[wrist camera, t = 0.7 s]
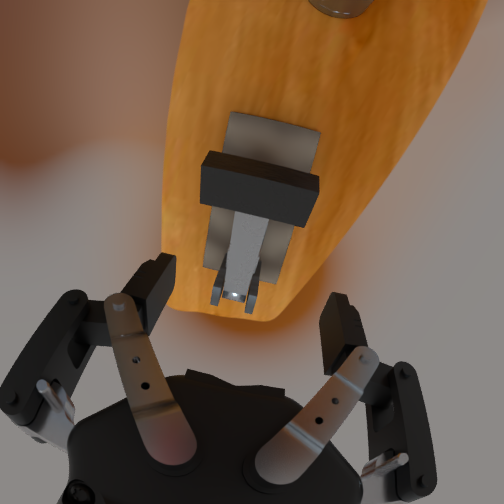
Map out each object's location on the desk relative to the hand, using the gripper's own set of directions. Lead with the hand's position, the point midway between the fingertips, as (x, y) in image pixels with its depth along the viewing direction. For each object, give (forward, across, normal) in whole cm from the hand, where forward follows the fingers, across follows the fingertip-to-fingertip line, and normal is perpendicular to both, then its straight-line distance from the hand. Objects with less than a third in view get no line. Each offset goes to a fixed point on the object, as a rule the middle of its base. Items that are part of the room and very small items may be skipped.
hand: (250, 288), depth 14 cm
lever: (+16, +1, +5) cm, 17 cm away
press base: (+27, +1, +5) cm, 28 cm away
